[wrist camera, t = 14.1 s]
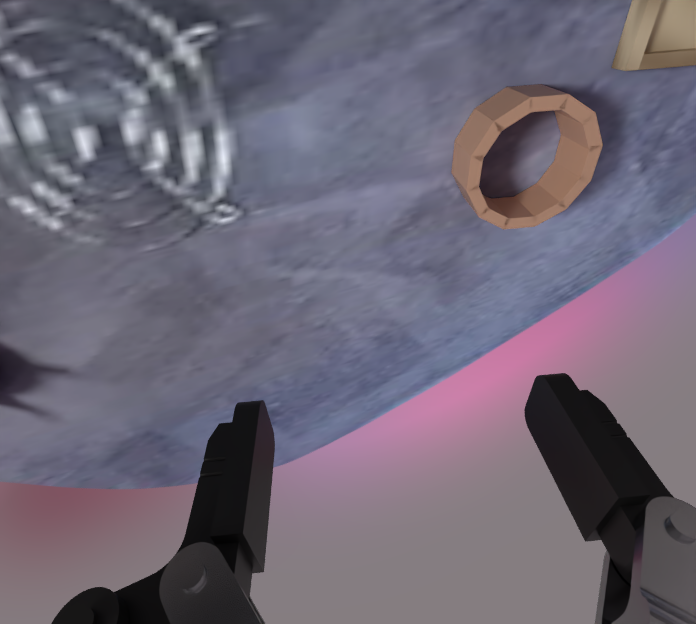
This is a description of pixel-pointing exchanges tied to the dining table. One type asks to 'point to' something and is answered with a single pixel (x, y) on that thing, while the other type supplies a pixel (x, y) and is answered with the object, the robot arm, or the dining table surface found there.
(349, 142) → the dining table surface
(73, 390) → the dining table surface
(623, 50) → the tray
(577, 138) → the holder ring
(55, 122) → the dining table surface
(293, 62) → the dining table surface
